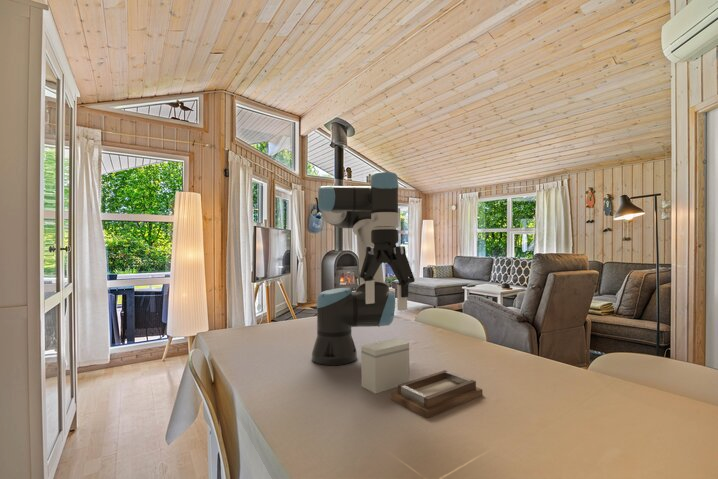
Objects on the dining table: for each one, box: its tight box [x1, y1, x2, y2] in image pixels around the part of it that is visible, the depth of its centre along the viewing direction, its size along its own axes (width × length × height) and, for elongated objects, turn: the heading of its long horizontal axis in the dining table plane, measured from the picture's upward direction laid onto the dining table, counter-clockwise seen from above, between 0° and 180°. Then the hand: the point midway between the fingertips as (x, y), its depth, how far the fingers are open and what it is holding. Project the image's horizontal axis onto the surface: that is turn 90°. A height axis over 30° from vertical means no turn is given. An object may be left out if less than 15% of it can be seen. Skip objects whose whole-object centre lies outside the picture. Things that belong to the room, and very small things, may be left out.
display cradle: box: [390, 369, 484, 419], centre depth 89 cm, size 12×20×4 cm, turn 126°
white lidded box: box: [360, 338, 410, 395], centre depth 97 cm, size 6×12×11 cm, turn 126°
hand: (385, 306), depth 97 cm, fingers open, 13 cm apart
